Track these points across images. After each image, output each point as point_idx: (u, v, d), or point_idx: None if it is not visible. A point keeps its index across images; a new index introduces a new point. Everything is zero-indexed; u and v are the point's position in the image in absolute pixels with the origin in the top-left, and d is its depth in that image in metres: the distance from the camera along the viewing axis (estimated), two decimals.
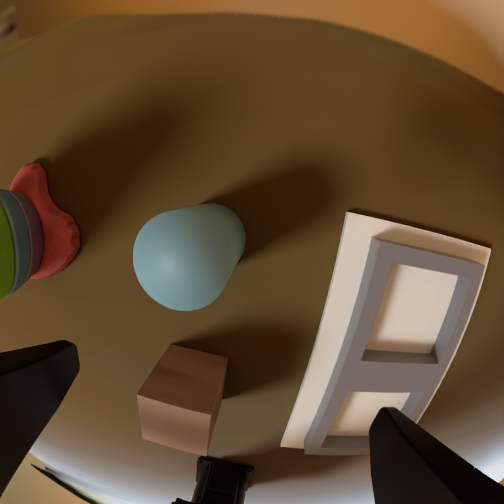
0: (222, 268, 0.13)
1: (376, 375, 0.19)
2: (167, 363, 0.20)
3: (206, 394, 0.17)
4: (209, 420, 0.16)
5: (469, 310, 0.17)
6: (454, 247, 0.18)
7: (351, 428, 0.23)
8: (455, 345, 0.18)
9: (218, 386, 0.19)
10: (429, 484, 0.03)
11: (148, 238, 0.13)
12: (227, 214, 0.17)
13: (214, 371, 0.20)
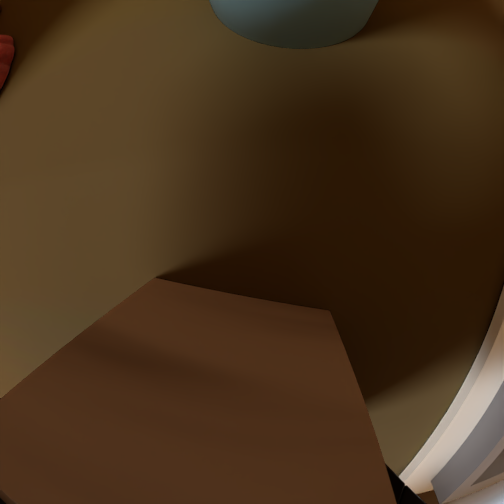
0: None
1: None
2: (134, 324, 0.05)
3: (335, 458, 0.03)
4: None
5: None
6: None
7: None
8: None
9: (361, 407, 0.04)
10: None
11: None
12: None
13: (317, 352, 0.05)
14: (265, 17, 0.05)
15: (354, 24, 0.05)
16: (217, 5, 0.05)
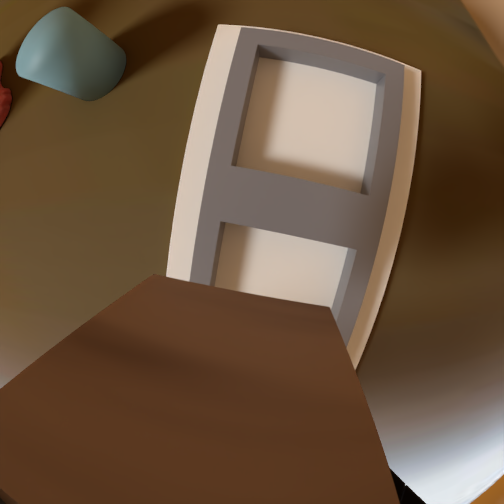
0: (66, 30, 0.09)
1: (260, 195, 0.15)
2: (133, 319, 0.05)
3: (336, 452, 0.03)
4: None
5: (398, 116, 0.13)
6: None
7: None
8: (391, 168, 0.14)
9: (362, 402, 0.04)
10: None
11: (31, 34, 0.09)
12: (105, 35, 0.13)
13: (317, 347, 0.05)
14: (75, 96, 0.15)
15: (104, 87, 0.16)
16: None
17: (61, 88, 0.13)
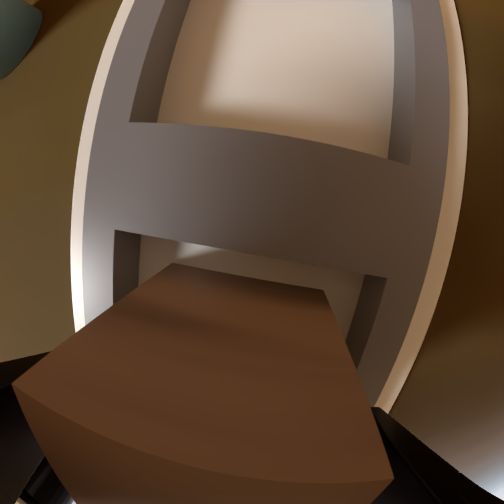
0: None
1: (182, 173, 0.07)
2: (161, 295, 0.07)
3: (325, 386, 0.04)
4: (369, 500, 0.02)
5: (440, 31, 0.05)
6: None
7: None
8: (444, 114, 0.06)
9: (347, 355, 0.05)
10: (410, 488, 0.03)
11: None
12: None
13: (311, 317, 0.07)
14: None
15: (11, 57, 0.08)
16: None
17: None
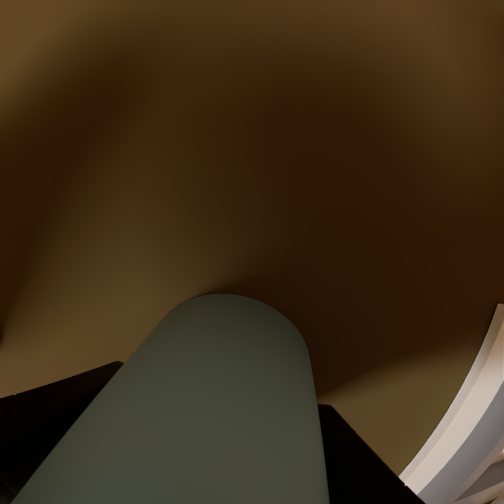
0: None
1: None
2: None
3: None
4: None
5: None
6: None
7: None
8: None
9: None
10: (344, 496, 0.03)
11: None
12: (286, 362, 0.06)
13: None
14: None
15: None
16: None
17: None
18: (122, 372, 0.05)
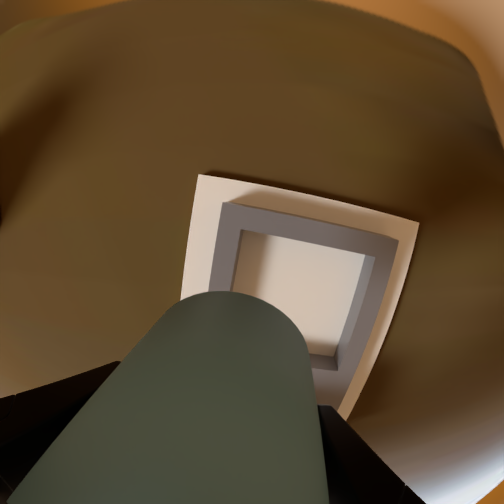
0: None
1: None
2: None
3: None
4: None
5: (378, 302, 0.15)
6: (354, 217, 0.16)
7: None
8: (361, 349, 0.16)
9: None
10: (344, 496, 0.03)
11: None
12: (285, 359, 0.05)
13: None
14: None
15: None
16: None
17: None
18: (120, 368, 0.05)
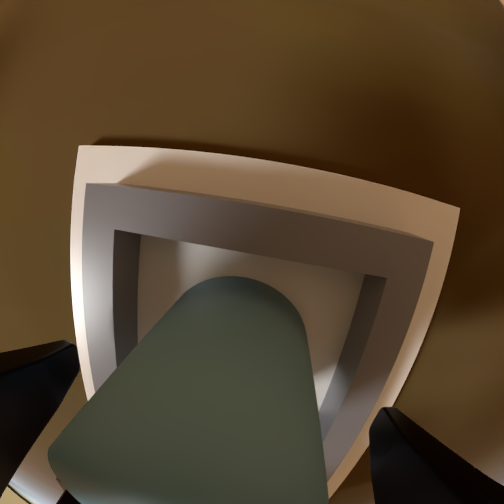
0: None
1: None
2: None
3: None
4: None
5: (390, 361, 0.07)
6: (343, 198, 0.08)
7: None
8: (355, 431, 0.08)
9: None
10: (429, 484, 0.03)
11: (77, 472, 0.03)
12: (285, 328, 0.07)
13: None
14: None
15: None
16: None
17: None
18: (150, 335, 0.06)
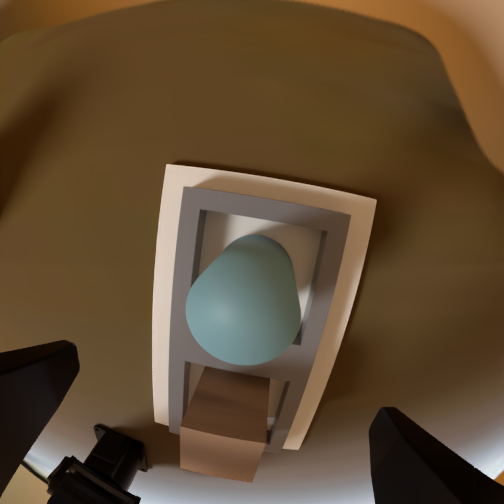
0: (293, 322, 0.12)
1: None
2: (207, 387, 0.18)
3: (256, 420, 0.16)
4: (262, 448, 0.14)
5: (335, 276, 0.17)
6: (309, 195, 0.18)
7: None
8: (322, 323, 0.17)
9: (266, 410, 0.17)
10: (429, 484, 0.03)
11: (206, 289, 0.12)
12: (280, 252, 0.16)
13: (259, 394, 0.18)
14: None
15: None
16: None
17: None
18: (224, 251, 0.15)
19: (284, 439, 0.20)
